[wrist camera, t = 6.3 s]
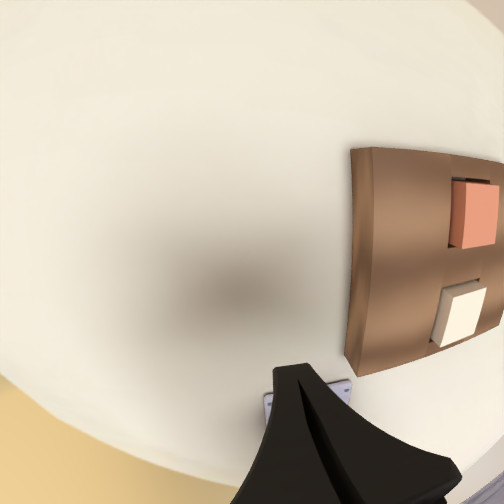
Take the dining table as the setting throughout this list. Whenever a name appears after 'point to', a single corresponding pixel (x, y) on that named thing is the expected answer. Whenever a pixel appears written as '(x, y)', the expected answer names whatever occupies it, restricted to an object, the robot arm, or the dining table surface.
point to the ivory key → (457, 312)
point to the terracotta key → (473, 213)
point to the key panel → (412, 254)
